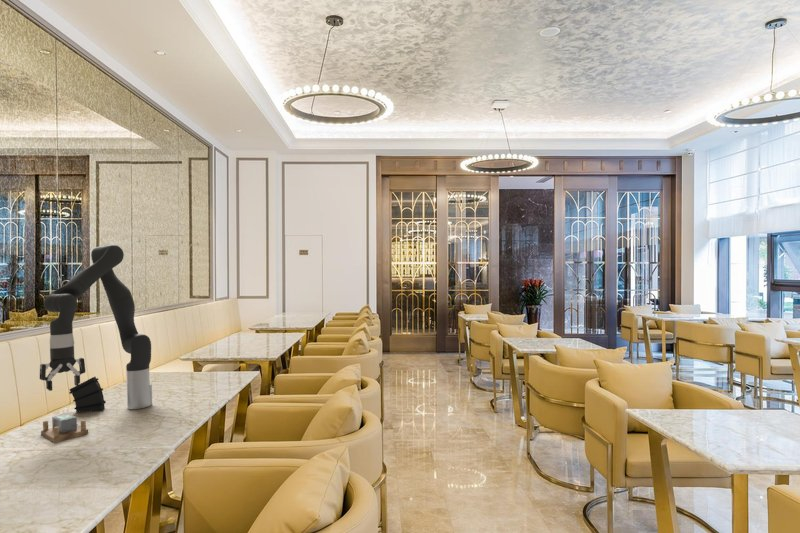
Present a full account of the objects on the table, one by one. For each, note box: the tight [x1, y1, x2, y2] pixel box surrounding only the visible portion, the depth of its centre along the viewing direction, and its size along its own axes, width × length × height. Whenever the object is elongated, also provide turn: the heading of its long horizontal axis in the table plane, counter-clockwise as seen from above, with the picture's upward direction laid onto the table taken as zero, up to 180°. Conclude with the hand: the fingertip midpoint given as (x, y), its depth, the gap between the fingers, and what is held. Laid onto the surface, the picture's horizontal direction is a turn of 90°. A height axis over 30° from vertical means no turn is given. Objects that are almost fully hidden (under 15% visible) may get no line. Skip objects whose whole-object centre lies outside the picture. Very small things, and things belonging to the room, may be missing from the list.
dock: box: [40, 414, 89, 443], centre depth 180 cm, size 11×15×5 cm
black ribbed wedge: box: [68, 376, 106, 413], centre depth 211 cm, size 4×13×15 cm, turn 98°
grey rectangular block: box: [51, 413, 78, 434], centre depth 180 cm, size 5×9×5 cm, turn 54°
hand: (63, 387), depth 180 cm, fingers open, 8 cm apart
